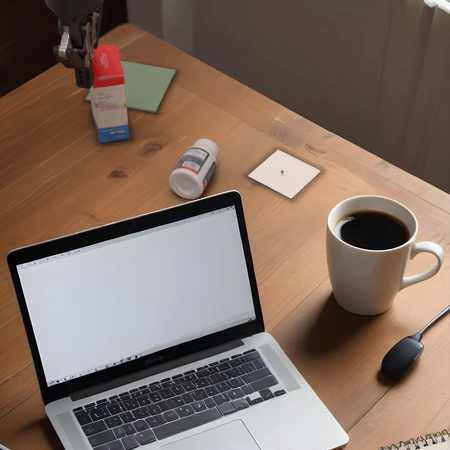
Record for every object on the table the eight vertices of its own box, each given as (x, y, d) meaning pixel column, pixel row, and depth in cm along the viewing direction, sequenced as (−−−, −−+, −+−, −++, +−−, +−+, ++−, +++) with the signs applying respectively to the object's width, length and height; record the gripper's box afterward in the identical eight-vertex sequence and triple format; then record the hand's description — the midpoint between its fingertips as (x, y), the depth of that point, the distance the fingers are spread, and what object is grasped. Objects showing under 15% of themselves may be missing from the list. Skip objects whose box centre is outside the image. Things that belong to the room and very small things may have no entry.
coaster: (321, 171, 127) (321, 167, 126) (291, 198, 123) (291, 194, 122) (278, 149, 130) (278, 145, 129) (247, 175, 126) (247, 171, 125)
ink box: (130, 140, 131) (124, 57, 119) (99, 144, 130) (89, 61, 118) (121, 107, 136) (114, 25, 124) (91, 111, 135) (81, 29, 123)
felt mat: (85, 101, 137) (85, 99, 136) (109, 60, 144) (108, 58, 144) (155, 113, 135) (155, 111, 135) (176, 71, 142) (175, 69, 142)
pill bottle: (182, 204, 123) (204, 168, 129) (208, 195, 120) (230, 158, 125) (161, 176, 121) (184, 140, 126) (187, 166, 117) (210, 130, 123)
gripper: (61, -62, 109) (76, 55, 122) (22, -11, 101) (43, 108, 114) (116, -54, 108) (125, 63, 121) (81, -2, 100) (95, 118, 113)
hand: (85, 85), depth 118 cm, fingers closed
